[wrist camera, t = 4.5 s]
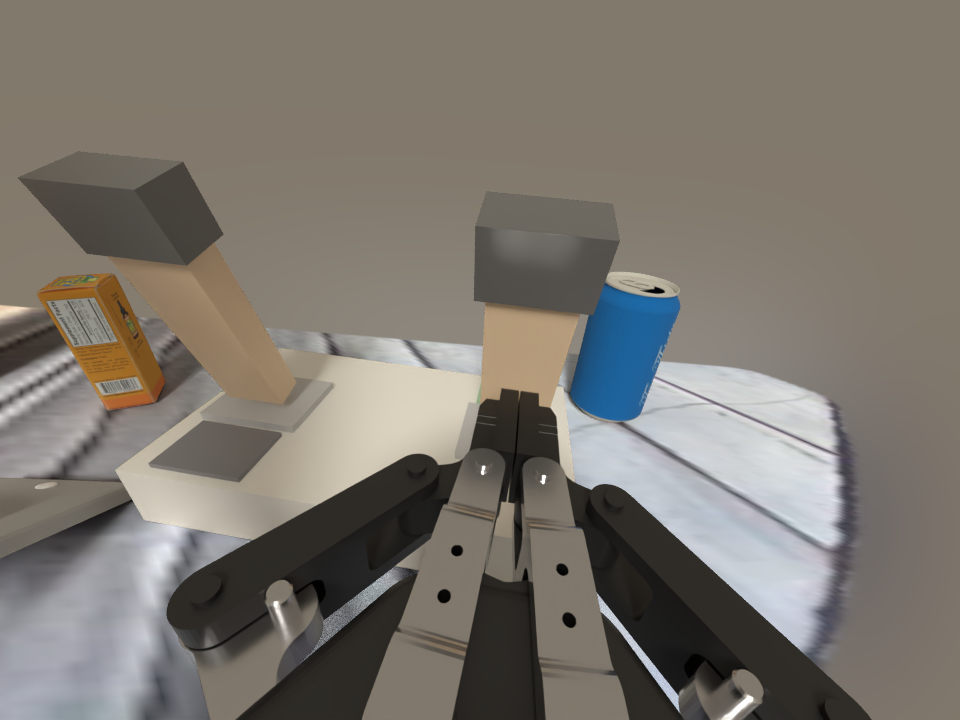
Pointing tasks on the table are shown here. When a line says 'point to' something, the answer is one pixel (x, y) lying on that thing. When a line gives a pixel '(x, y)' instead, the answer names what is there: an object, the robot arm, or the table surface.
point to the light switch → (50, 507)
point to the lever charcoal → (167, 260)
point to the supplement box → (104, 338)
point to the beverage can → (624, 345)
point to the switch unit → (314, 447)
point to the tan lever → (537, 285)
